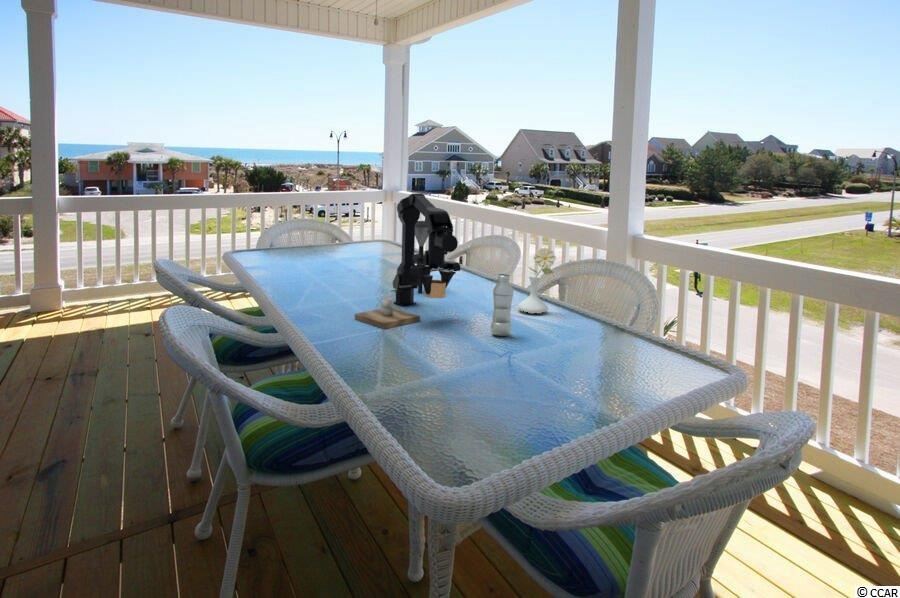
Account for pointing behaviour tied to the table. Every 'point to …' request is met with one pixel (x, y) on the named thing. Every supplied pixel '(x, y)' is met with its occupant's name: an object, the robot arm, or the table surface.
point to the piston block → (387, 316)
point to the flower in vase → (533, 302)
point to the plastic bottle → (502, 306)
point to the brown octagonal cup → (437, 289)
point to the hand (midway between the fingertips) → (435, 292)
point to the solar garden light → (421, 242)
